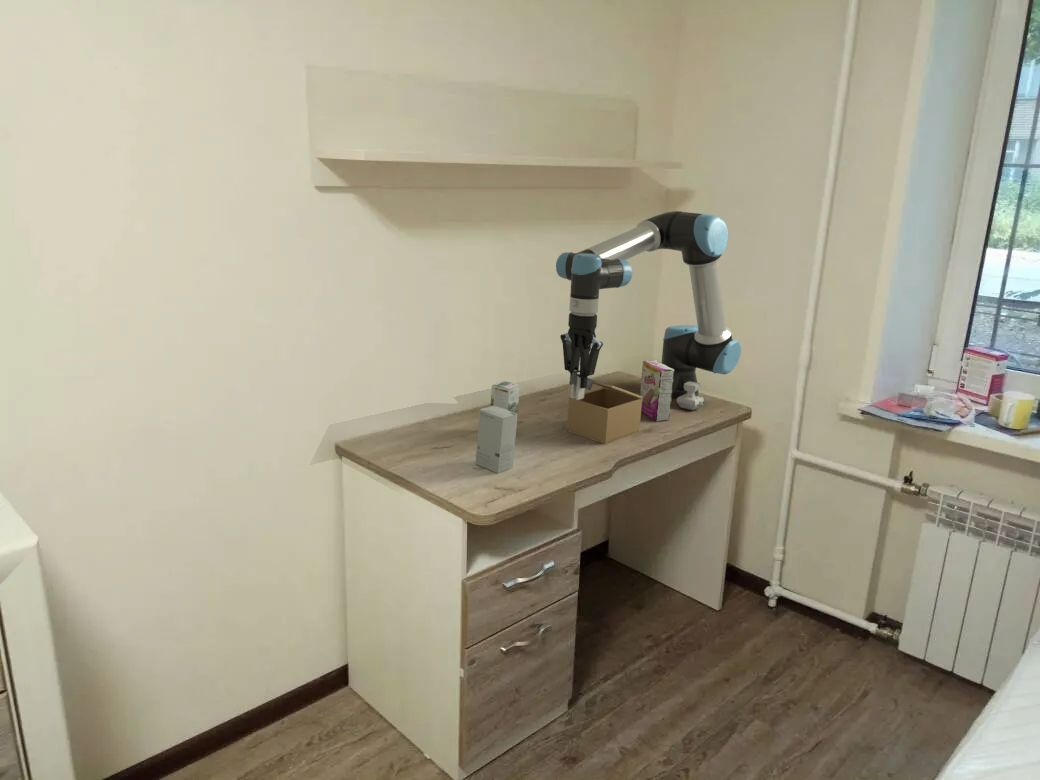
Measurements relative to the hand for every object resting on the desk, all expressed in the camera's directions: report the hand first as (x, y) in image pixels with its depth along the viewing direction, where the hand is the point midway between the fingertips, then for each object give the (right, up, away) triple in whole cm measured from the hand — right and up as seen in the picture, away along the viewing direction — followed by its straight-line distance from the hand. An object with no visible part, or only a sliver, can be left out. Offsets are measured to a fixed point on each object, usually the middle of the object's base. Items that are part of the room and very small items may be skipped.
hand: (577, 397), depth 217 cm
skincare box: (-22, -17, -17) cm, 33 cm away
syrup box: (-20, -10, +7) cm, 24 cm away
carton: (+8, -10, +13) cm, 18 cm away
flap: (+6, +1, +6) cm, 8 cm away
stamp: (+39, -4, +38) cm, 55 cm away
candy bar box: (+26, -6, +29) cm, 39 cm away
